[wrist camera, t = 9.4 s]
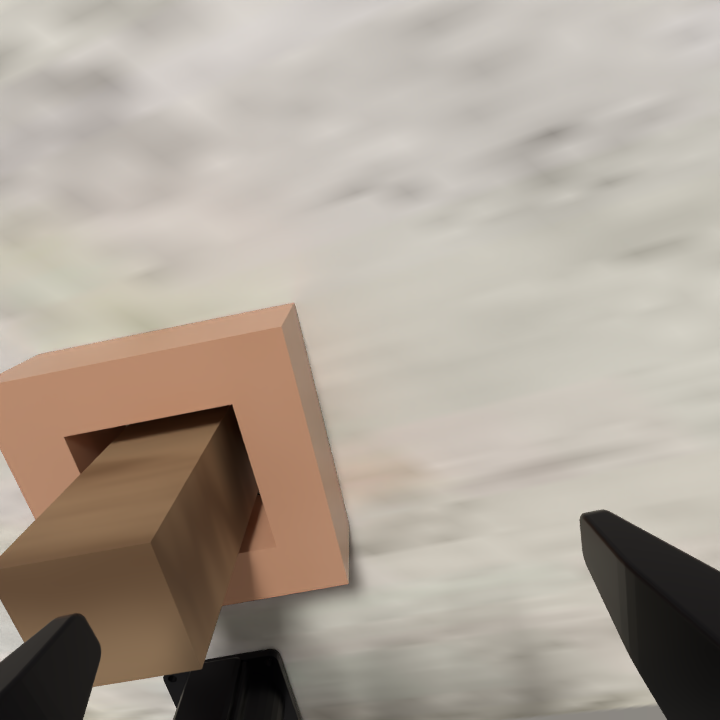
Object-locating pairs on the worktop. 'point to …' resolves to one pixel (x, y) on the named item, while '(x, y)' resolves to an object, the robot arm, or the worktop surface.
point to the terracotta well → (184, 395)
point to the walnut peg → (140, 545)
